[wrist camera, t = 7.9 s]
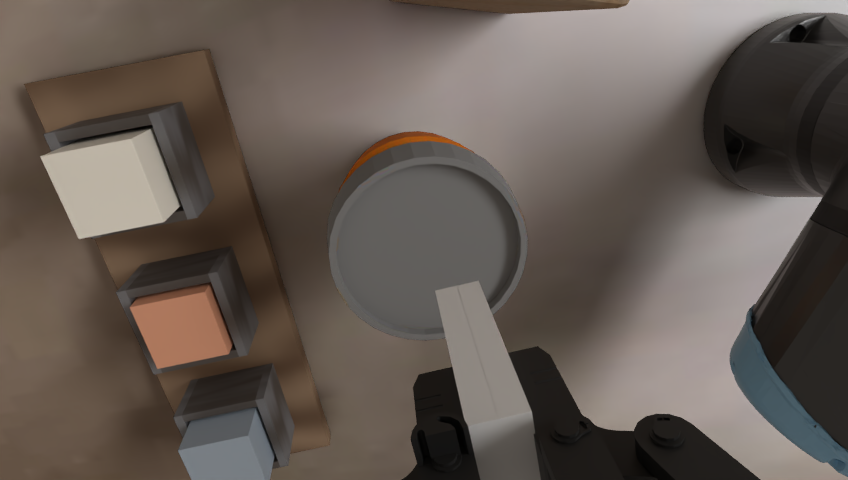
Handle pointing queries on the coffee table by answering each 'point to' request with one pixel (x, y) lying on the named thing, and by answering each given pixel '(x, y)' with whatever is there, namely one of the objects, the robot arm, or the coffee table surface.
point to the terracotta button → (182, 325)
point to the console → (197, 241)
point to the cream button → (113, 182)
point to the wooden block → (521, 5)
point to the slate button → (228, 447)
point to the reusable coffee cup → (422, 233)
